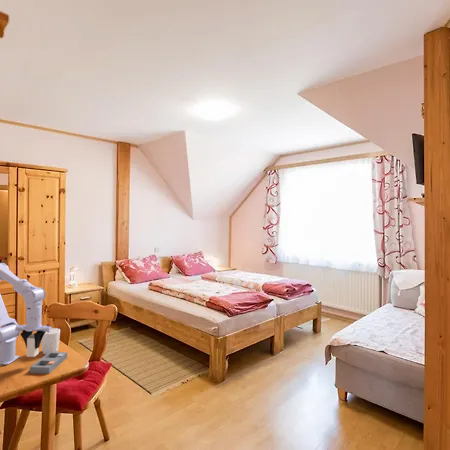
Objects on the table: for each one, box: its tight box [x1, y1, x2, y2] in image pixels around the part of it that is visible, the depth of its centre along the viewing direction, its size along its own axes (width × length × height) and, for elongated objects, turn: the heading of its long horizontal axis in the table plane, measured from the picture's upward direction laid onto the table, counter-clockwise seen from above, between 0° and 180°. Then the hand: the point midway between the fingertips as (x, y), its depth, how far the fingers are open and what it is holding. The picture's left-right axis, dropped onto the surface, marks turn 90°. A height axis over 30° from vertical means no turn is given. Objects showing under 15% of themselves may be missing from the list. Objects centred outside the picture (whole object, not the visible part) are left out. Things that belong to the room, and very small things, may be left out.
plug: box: [26, 333, 40, 358], centre depth 136 cm, size 3×3×9 cm
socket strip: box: [29, 351, 68, 374], centre depth 138 cm, size 8×15×3 cm, turn 1°
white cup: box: [41, 327, 61, 355], centre depth 151 cm, size 8×8×10 cm
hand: (32, 347), depth 136 cm, fingers closed on plug, 3 cm apart
